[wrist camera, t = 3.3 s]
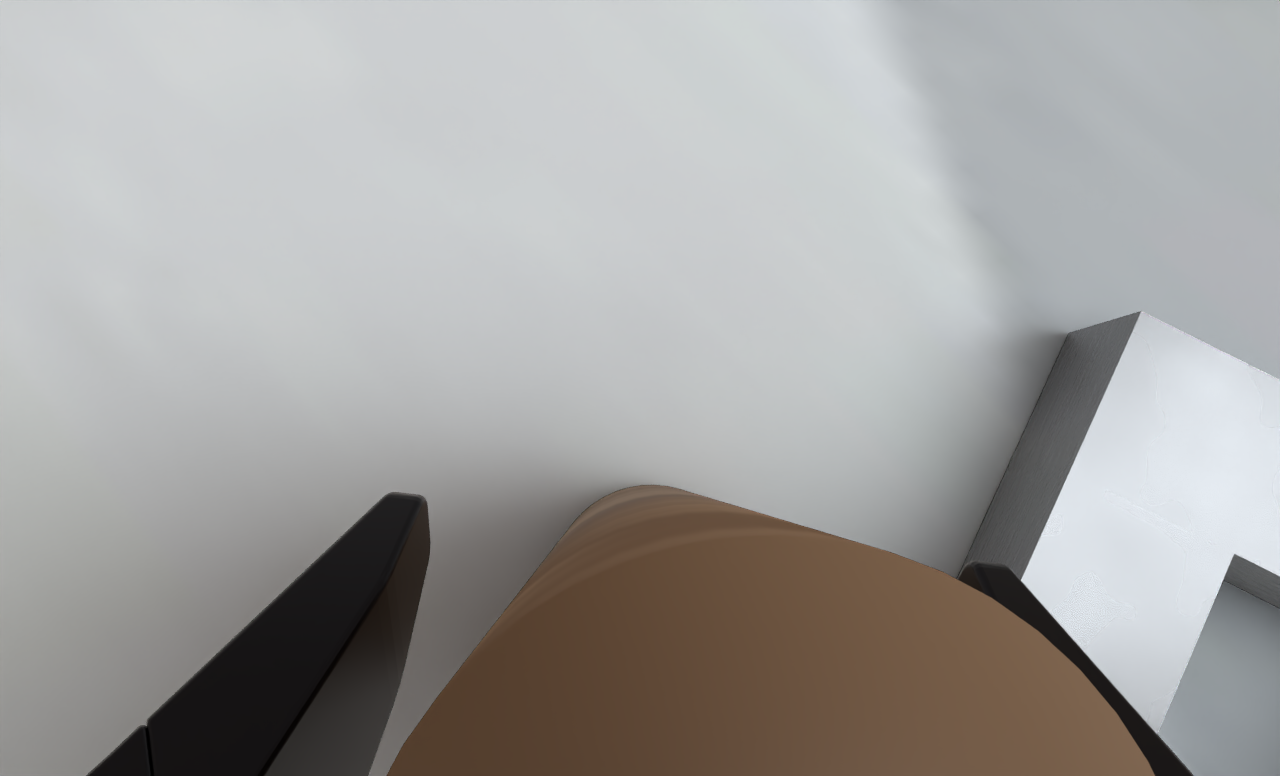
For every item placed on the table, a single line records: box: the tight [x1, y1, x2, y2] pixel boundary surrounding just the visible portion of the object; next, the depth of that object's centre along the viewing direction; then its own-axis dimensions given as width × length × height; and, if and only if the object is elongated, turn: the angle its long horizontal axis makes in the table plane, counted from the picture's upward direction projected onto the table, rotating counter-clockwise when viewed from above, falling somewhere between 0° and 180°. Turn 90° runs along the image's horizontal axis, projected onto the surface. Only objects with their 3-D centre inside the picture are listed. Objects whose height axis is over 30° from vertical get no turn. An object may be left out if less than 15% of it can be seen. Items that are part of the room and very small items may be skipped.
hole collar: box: [957, 311, 1280, 735], centre depth 16 cm, size 12×12×2 cm
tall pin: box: [387, 485, 1155, 776], centre depth 11 cm, size 4×4×14 cm
